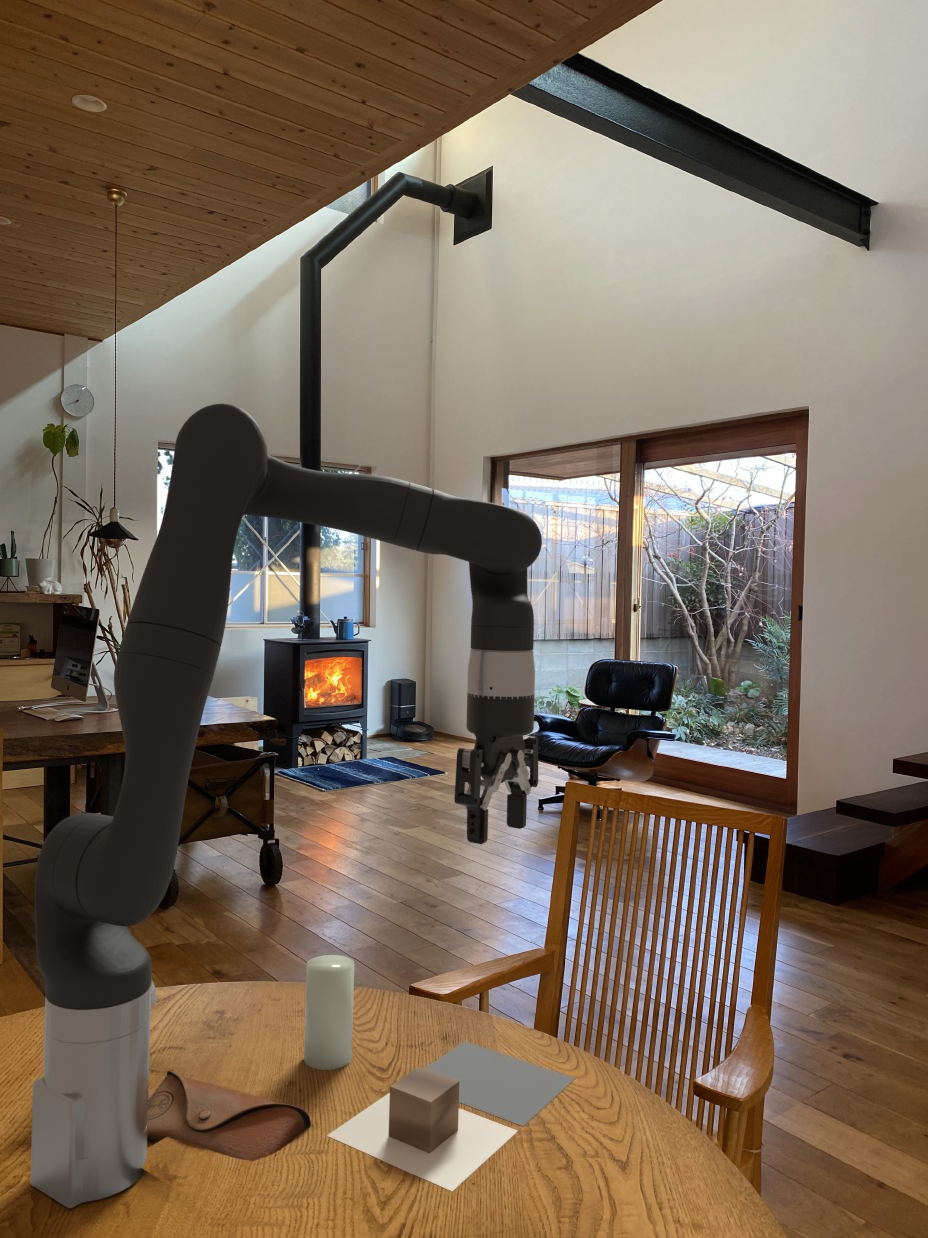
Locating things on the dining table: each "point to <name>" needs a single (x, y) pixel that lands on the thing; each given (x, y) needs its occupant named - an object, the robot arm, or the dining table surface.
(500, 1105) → the slate mat
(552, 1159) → the dining table surface
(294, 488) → the robot arm
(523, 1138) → the dining table surface
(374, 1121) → the cream mat
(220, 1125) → the sunglasses case
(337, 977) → the pale green pillar candle
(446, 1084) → the walnut block
